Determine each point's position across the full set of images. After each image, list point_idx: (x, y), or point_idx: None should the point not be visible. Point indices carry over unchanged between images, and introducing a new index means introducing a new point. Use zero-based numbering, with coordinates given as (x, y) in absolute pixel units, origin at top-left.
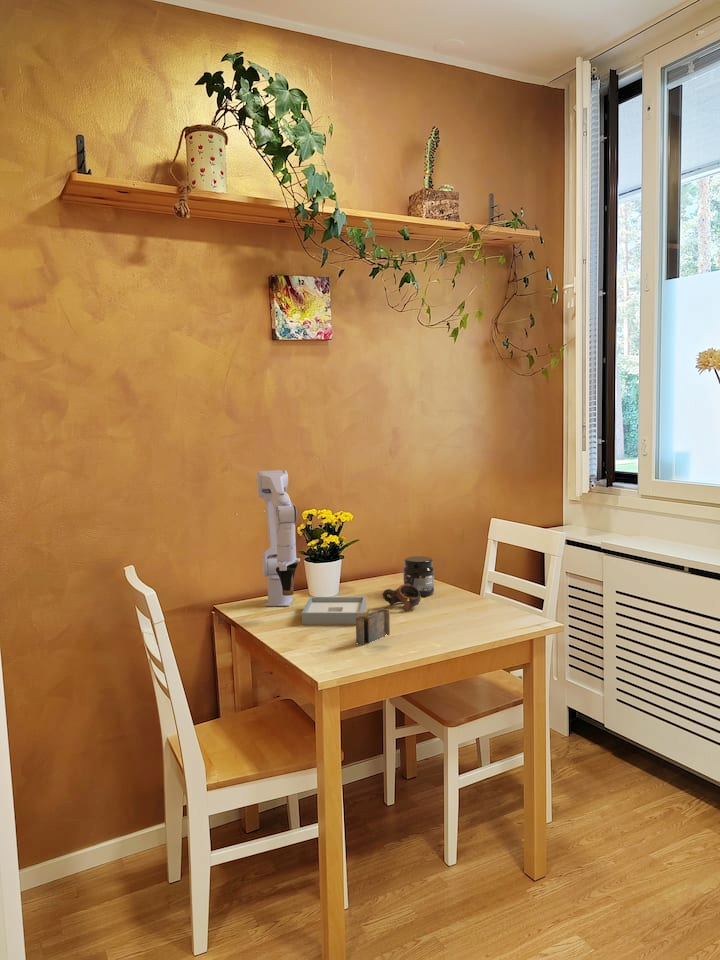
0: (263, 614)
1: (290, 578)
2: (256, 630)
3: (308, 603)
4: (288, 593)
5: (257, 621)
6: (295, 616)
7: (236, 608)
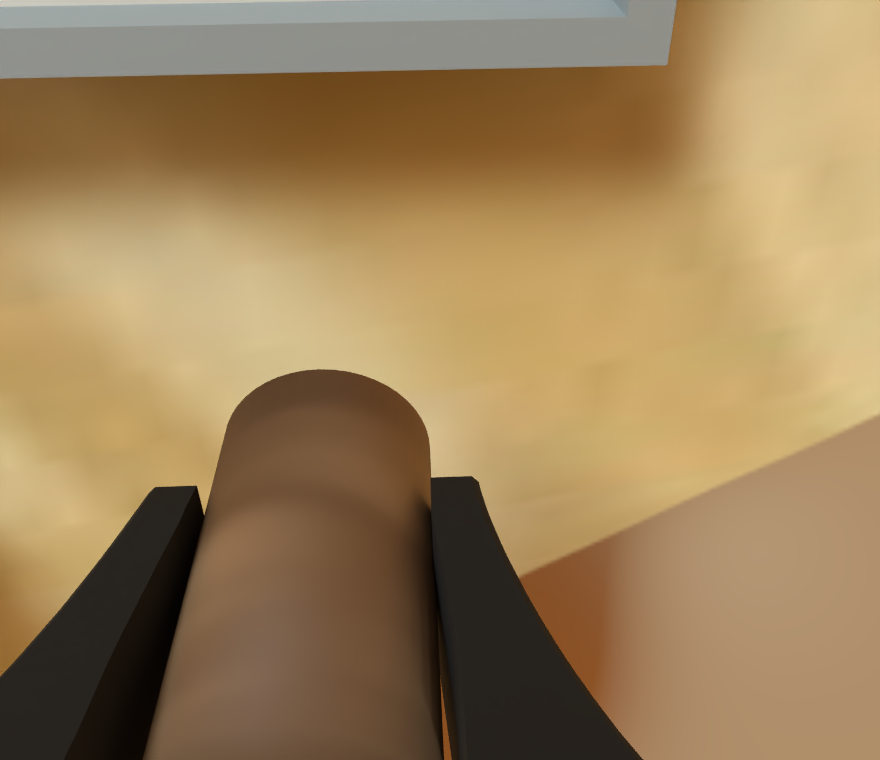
0: None
1: (584, 700)
2: (751, 457)
3: (51, 41)
4: (427, 454)
5: None
6: (239, 173)
7: None
